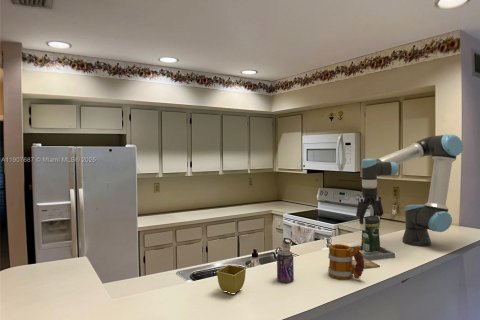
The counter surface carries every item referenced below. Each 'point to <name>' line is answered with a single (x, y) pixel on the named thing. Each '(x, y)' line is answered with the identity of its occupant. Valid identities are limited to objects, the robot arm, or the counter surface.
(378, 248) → the coffee jar
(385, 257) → the grey square shallow frame
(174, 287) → the counter surface
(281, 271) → the beverage can
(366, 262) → the pad
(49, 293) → the counter surface
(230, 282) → the flower pot
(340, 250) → the mug
